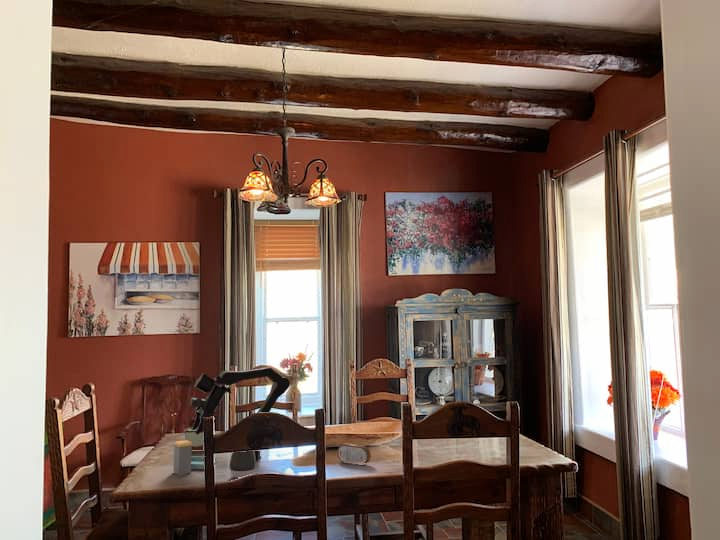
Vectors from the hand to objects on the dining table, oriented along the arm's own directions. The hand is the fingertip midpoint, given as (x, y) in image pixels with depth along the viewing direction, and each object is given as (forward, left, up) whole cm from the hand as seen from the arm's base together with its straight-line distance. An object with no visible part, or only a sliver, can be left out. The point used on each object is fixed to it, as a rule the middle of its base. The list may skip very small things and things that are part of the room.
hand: (194, 431), depth 217 cm
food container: (+9, -25, -14) cm, 30 cm away
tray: (-2, -1, -14) cm, 14 cm away
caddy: (0, +10, -14) cm, 17 cm away
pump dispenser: (-25, +12, -14) cm, 31 cm away
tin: (-66, -12, -14) cm, 69 cm away
